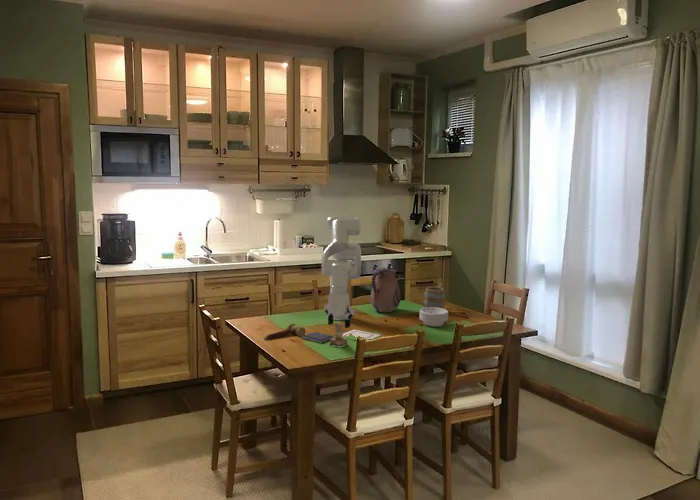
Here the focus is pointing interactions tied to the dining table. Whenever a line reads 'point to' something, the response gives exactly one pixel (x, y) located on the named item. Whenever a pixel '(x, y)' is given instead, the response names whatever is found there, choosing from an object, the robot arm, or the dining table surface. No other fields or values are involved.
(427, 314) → the paper bowls
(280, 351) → the dining table surface
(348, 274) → the robot arm
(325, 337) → the ink pad
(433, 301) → the tankard
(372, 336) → the paper sheet
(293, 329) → the gavel
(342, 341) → the stamp
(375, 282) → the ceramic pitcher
